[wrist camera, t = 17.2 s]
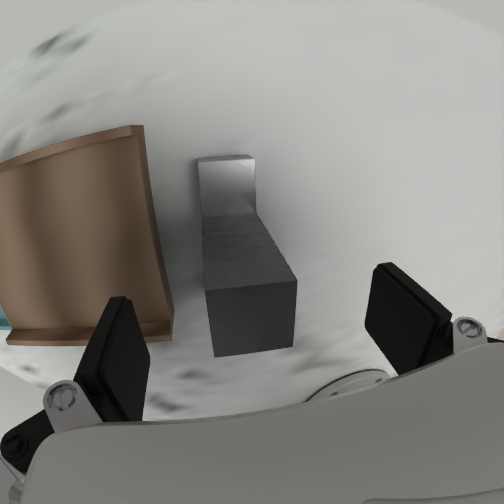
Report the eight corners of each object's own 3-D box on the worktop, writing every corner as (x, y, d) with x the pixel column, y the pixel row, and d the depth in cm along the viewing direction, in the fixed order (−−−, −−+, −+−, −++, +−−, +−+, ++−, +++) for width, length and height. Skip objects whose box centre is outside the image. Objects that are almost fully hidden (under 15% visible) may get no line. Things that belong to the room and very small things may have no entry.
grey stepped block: (247, 154, 17) (300, 189, 8) (251, 282, 21) (288, 392, 12) (198, 158, 17) (194, 196, 8) (210, 287, 20) (222, 402, 12)
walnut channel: (143, 125, 15) (129, 125, 12) (174, 309, 21) (171, 340, 18) (-23, 175, 13) (-51, 187, 10) (24, 319, 19) (8, 344, 16)
